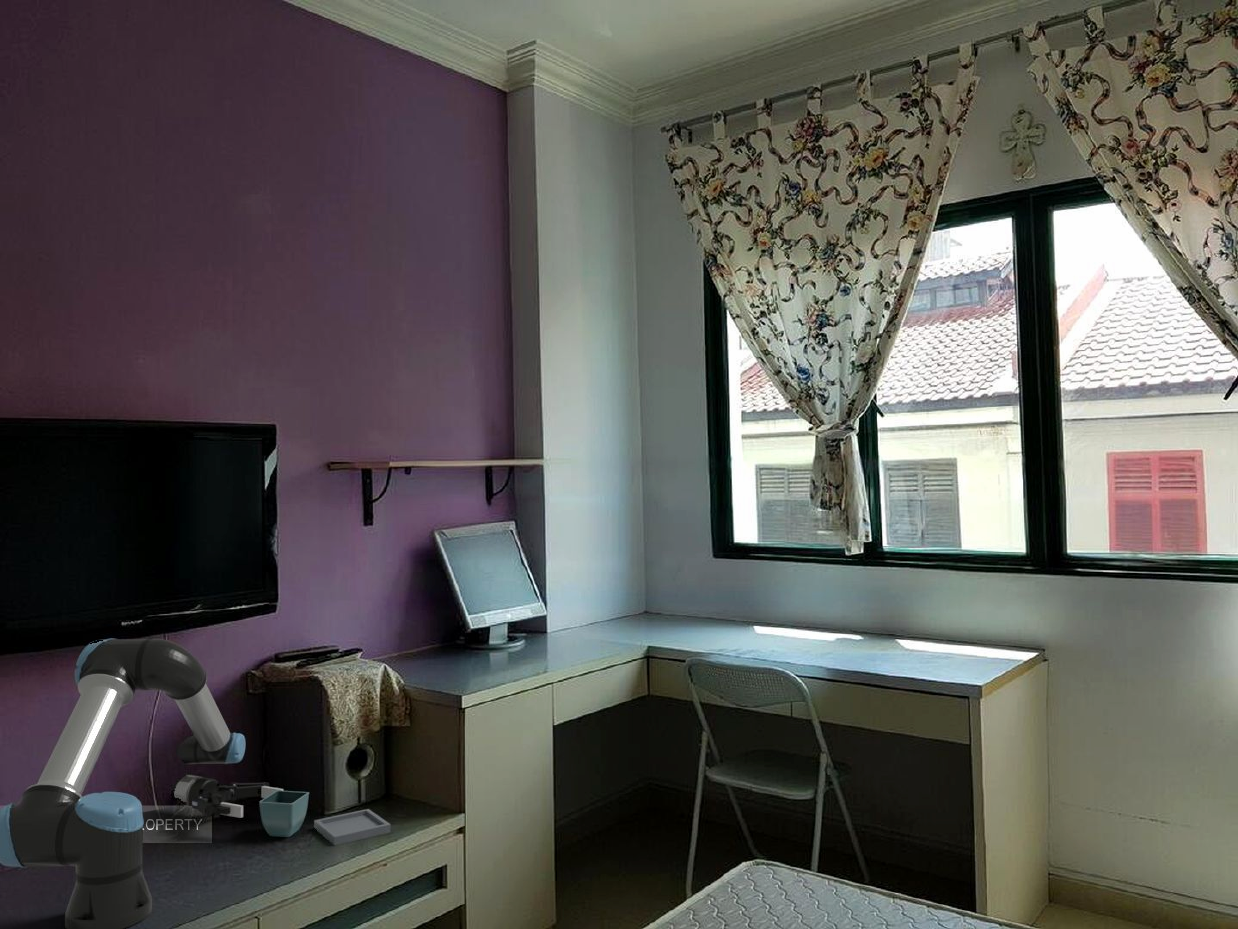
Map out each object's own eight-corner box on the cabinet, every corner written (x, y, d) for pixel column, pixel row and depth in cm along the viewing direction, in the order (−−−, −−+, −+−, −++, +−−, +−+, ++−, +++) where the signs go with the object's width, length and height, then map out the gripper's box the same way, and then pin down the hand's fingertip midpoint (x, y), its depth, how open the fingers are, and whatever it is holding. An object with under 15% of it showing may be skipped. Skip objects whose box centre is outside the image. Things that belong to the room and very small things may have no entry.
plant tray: (334, 845, 227) (334, 837, 227) (314, 828, 238) (314, 820, 239) (390, 832, 236) (390, 824, 236) (368, 816, 247) (368, 809, 247)
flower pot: (292, 841, 230) (292, 803, 230) (257, 839, 231) (258, 801, 232) (309, 828, 239) (309, 792, 239) (276, 826, 240) (276, 790, 240)
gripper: (235, 792, 258) (298, 803, 250) (157, 823, 235) (223, 835, 227) (235, 764, 258) (298, 773, 250) (157, 792, 235) (223, 803, 227)
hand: (262, 803), depth 238 cm, fingers open, 13 cm apart
